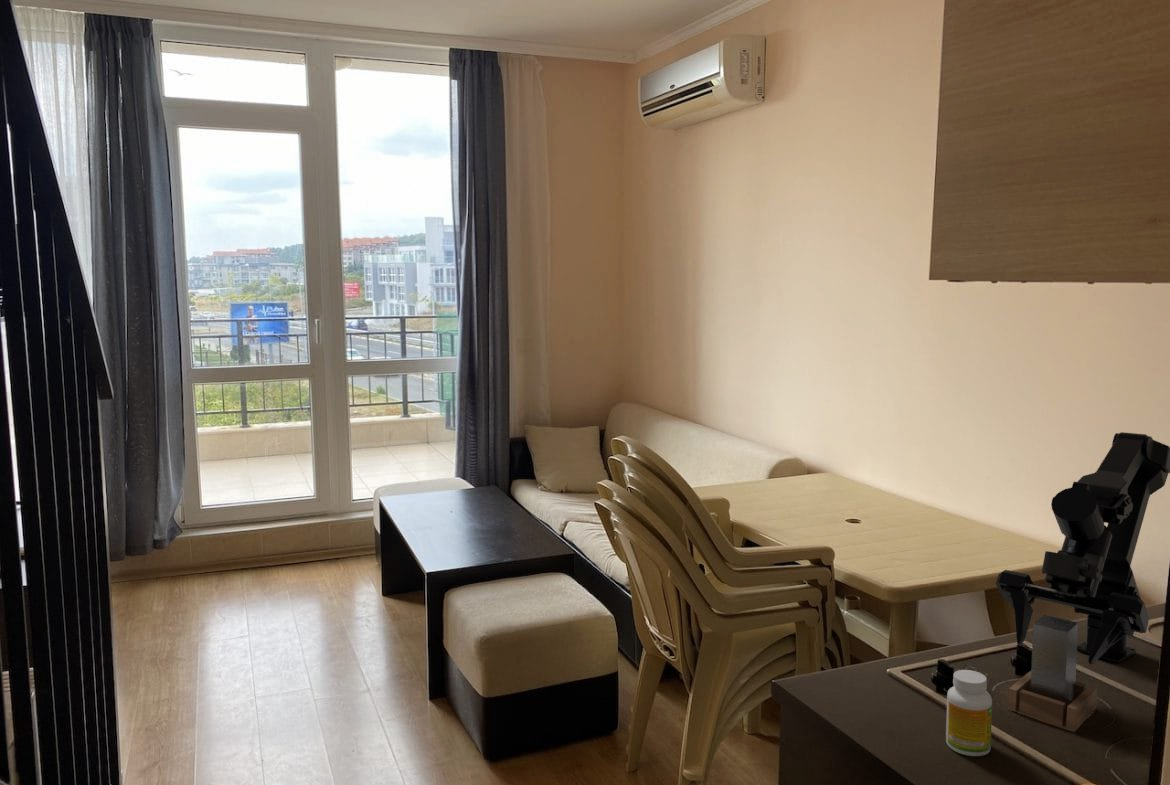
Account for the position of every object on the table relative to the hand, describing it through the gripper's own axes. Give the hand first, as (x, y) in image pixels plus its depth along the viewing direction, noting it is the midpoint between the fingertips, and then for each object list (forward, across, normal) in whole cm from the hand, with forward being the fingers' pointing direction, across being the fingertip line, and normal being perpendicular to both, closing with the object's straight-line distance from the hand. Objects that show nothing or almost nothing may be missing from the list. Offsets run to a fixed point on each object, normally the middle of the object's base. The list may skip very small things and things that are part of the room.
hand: (1053, 653), depth 122 cm
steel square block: (+6, 0, +6) cm, 8 cm away
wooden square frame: (+6, 0, +6) cm, 9 cm away
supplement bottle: (+18, -5, -6) cm, 20 cm away
